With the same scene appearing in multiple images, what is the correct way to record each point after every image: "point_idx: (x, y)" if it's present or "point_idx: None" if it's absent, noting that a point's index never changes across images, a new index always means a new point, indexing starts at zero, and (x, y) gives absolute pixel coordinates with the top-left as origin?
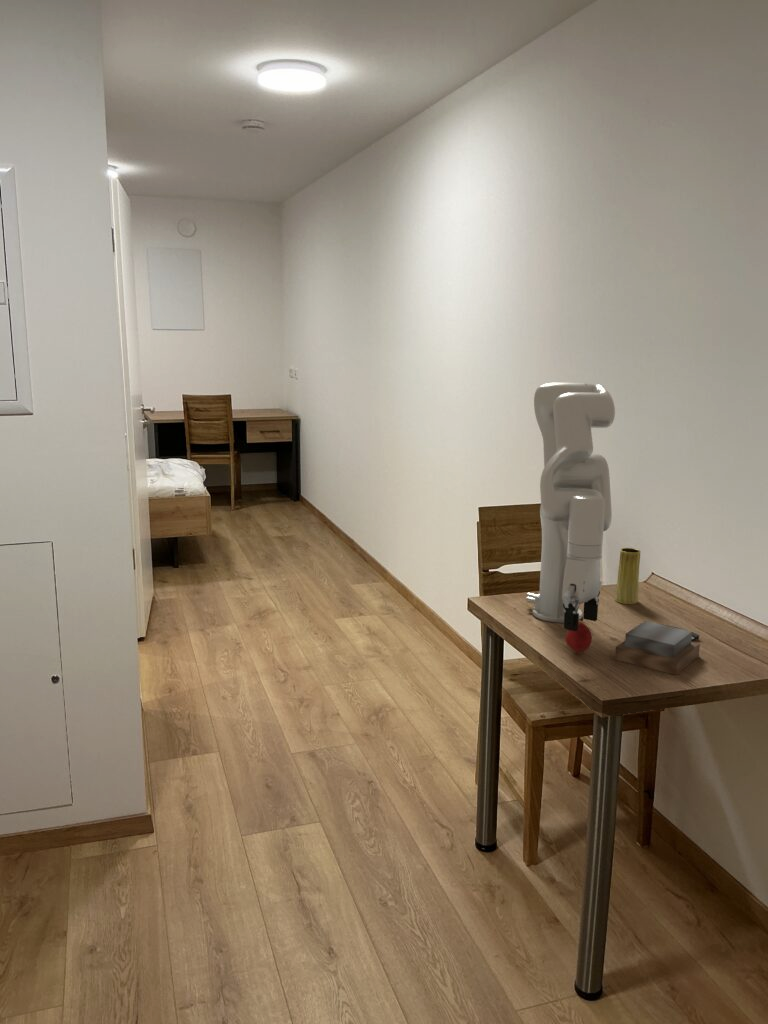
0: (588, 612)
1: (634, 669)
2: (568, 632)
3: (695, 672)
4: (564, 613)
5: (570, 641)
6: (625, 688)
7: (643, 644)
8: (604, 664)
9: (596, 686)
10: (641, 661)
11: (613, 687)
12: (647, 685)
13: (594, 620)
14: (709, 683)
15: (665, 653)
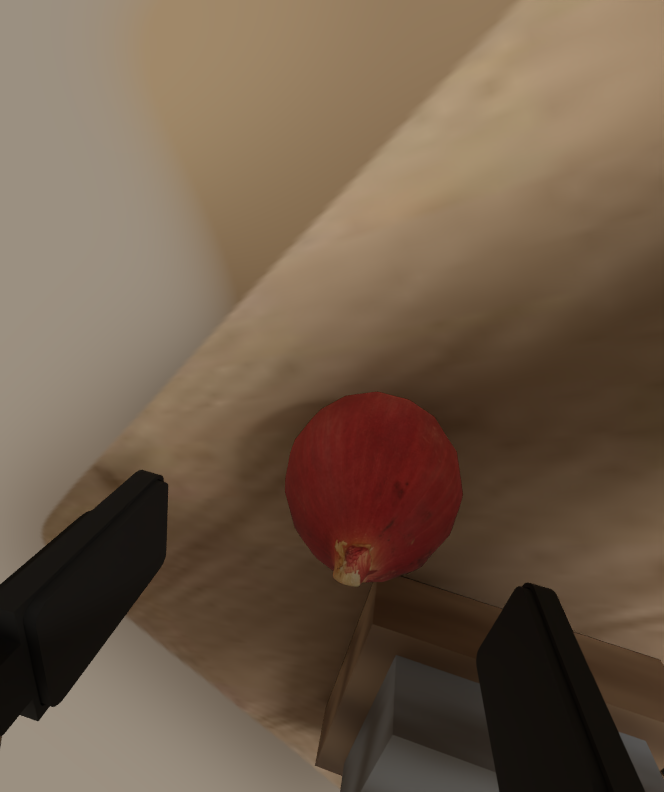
0: (519, 688)
1: (309, 619)
2: (318, 443)
3: None
4: (16, 577)
5: (297, 437)
6: None
7: (369, 738)
8: None
9: None
10: (349, 658)
11: None
12: (203, 638)
13: (479, 655)
14: (310, 755)
15: (348, 763)
